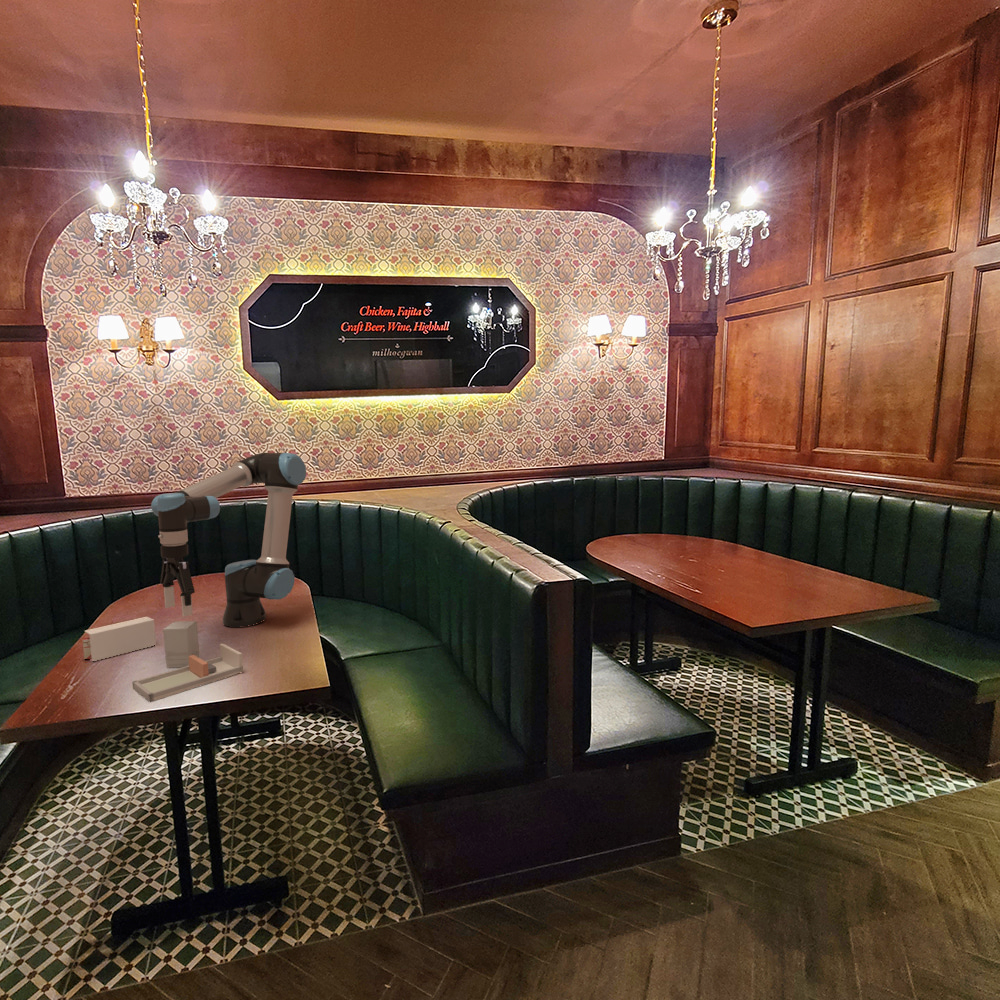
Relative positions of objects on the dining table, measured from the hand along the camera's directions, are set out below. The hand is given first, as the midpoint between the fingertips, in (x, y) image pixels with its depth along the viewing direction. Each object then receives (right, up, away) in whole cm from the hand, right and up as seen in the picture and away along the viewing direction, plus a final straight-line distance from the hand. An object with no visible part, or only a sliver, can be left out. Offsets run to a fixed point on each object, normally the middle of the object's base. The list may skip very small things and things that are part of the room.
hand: (178, 611), depth 191 cm
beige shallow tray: (+9, -18, -10) cm, 23 cm away
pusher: (+12, -17, -7) cm, 22 cm away
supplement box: (0, -17, +2) cm, 17 cm away
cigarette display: (-25, -16, +12) cm, 32 cm away
